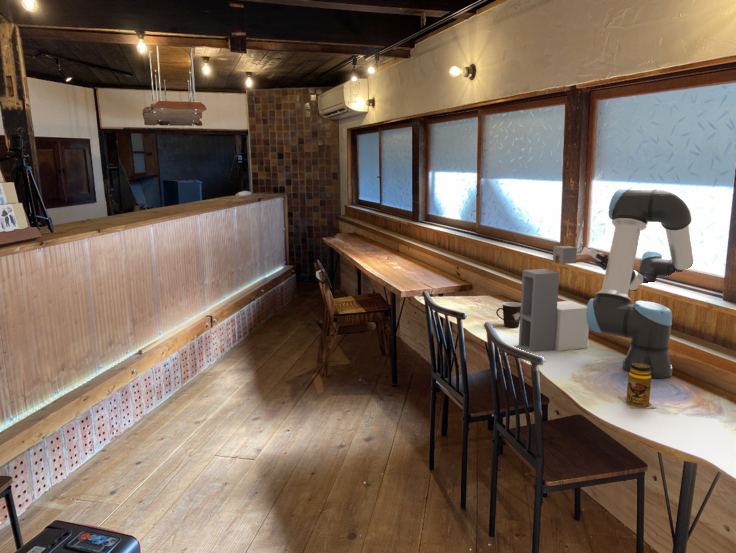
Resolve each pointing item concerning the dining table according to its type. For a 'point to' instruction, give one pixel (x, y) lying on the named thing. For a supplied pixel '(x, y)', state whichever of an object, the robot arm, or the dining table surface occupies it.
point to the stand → (538, 309)
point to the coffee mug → (511, 314)
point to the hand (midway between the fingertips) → (586, 250)
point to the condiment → (638, 386)
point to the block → (571, 326)
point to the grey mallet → (570, 255)
